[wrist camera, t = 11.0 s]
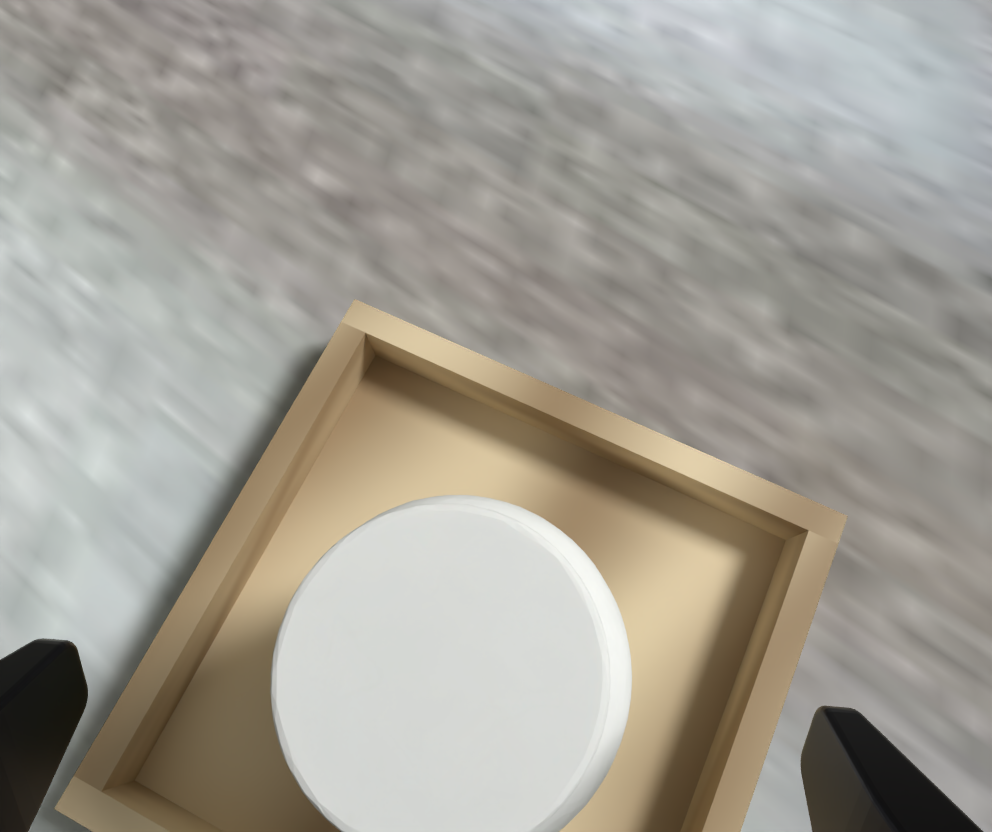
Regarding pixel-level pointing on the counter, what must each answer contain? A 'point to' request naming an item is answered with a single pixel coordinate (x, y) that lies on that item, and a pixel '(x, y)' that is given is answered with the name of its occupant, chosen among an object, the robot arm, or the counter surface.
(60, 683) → the robot arm
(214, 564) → the tray
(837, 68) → the counter surface
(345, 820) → the supplement bottle
